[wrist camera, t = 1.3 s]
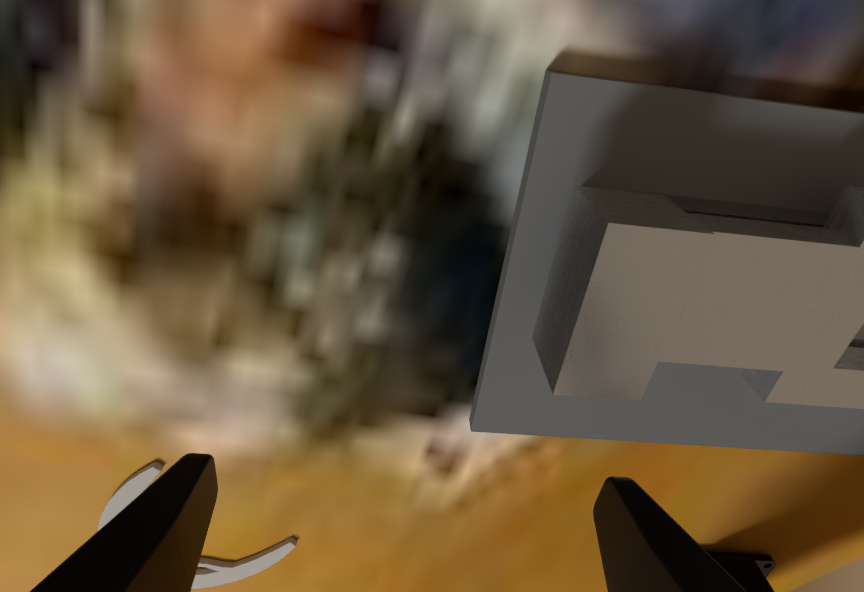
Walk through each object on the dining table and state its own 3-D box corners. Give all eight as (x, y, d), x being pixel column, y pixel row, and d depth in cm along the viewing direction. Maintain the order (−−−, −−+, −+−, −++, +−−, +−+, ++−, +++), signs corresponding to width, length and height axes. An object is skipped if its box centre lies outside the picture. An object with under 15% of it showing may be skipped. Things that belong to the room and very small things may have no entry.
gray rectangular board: (1000, 453, 27) (1016, 464, 27) (469, 419, 24) (471, 431, 24) (1285, 169, 19) (1317, 175, 19) (545, 70, 16) (551, 72, 16)
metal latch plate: (916, 388, 21) (993, 446, 18) (525, 358, 19) (545, 417, 17) (1059, 210, 17) (1185, 250, 14) (582, 153, 15) (620, 185, 13)
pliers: (296, 562, 28) (146, 656, 33) (301, 536, 29) (157, 630, 34) (140, 478, 24) (-5, 600, 29) (154, 453, 25) (13, 573, 30)
